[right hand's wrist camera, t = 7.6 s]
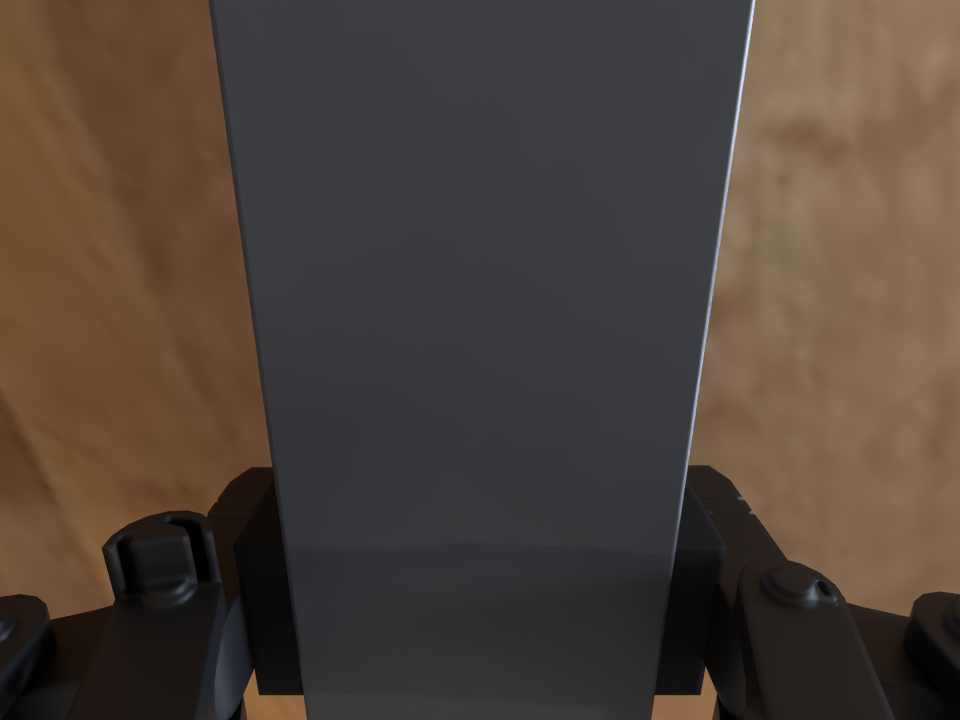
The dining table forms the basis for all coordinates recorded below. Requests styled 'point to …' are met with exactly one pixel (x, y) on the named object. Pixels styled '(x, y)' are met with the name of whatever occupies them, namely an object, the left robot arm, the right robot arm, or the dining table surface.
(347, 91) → the beam
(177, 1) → the dining table surface
